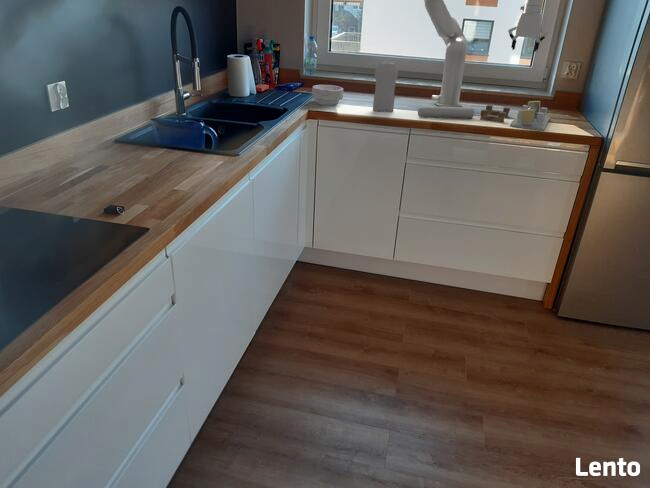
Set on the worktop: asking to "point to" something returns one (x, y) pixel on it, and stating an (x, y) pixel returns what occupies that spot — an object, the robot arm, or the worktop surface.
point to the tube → (446, 112)
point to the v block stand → (536, 125)
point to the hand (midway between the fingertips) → (524, 50)
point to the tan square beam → (530, 111)
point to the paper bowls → (327, 94)
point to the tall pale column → (385, 87)
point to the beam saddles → (494, 114)
